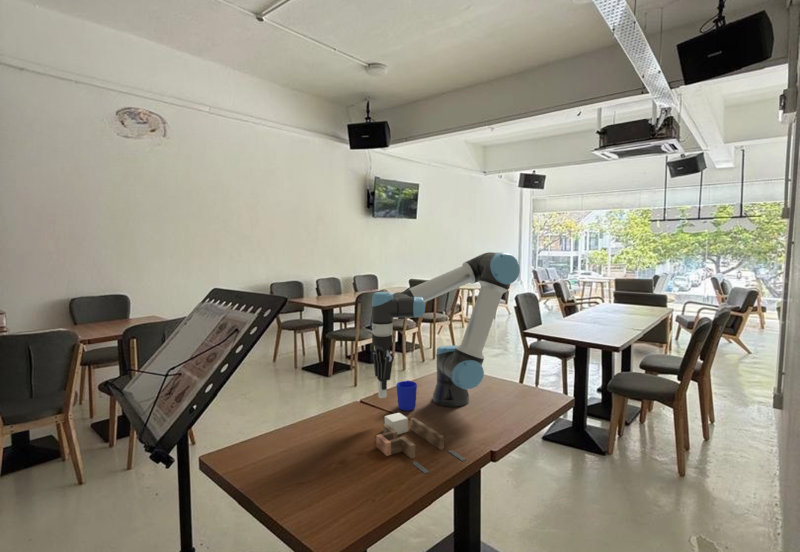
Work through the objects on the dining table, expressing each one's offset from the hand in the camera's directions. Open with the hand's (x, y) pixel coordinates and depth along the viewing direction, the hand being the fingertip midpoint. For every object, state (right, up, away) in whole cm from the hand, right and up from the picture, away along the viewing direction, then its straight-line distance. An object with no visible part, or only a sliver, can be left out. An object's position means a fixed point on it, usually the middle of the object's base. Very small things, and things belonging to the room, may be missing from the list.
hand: (382, 397), depth 160 cm
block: (+5, -10, -7) cm, 13 cm away
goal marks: (+18, -11, -29) cm, 36 cm away
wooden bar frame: (+8, -11, -18) cm, 22 cm away
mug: (+9, -8, +15) cm, 20 cm away
